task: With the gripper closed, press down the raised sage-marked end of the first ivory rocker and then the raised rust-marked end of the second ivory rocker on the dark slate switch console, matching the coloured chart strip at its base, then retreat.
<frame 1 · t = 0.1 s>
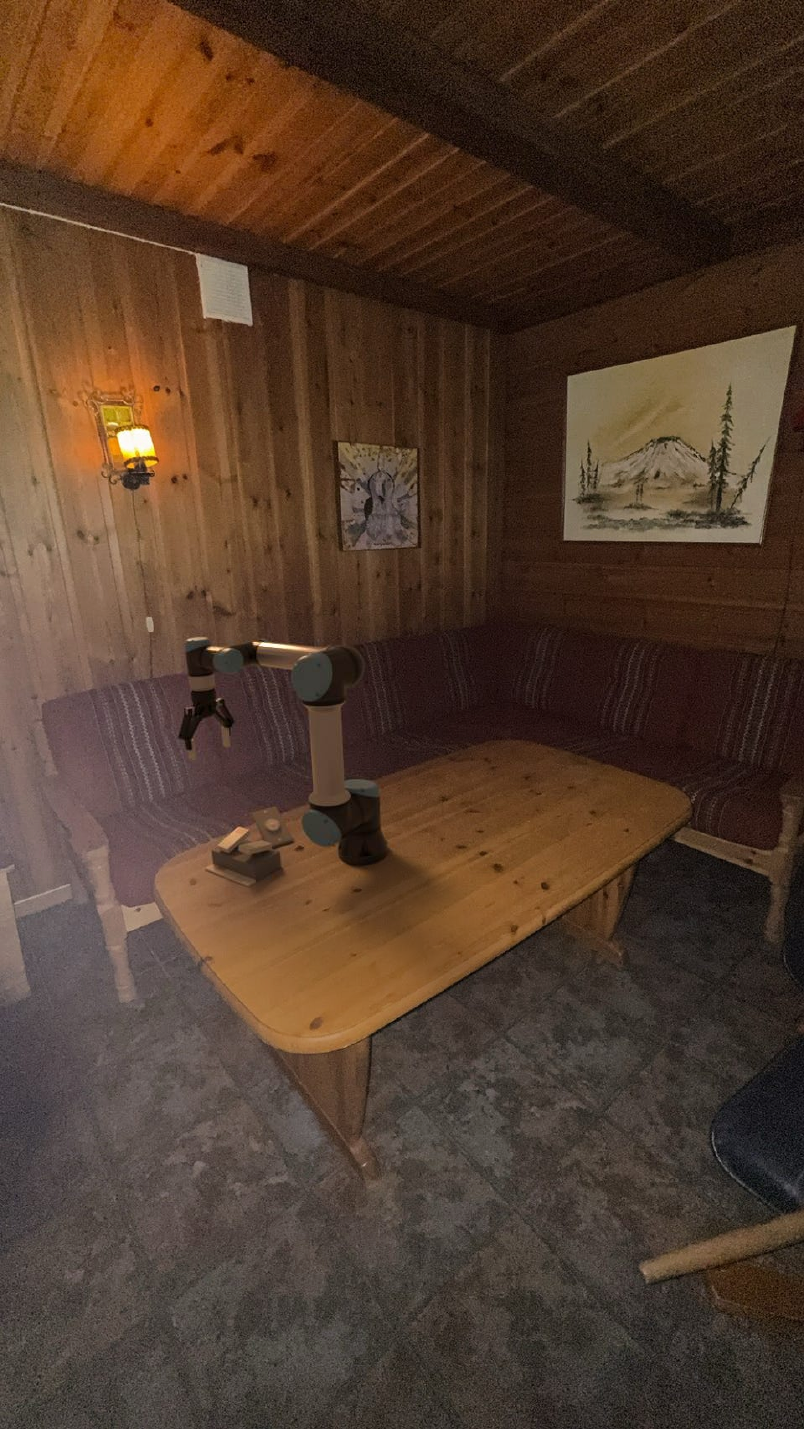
hand: (210, 752, 198), 28 cm above the table, fingers open, 13 cm apart
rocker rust: (233, 839, 185), point 7 cm above the table, hinge at -15.0°
console: (246, 865, 185), on the table
rocker sage: (255, 847, 180), point 7 cm above the table, hinge at 15.0°
light switch: (273, 838, 202), on the table
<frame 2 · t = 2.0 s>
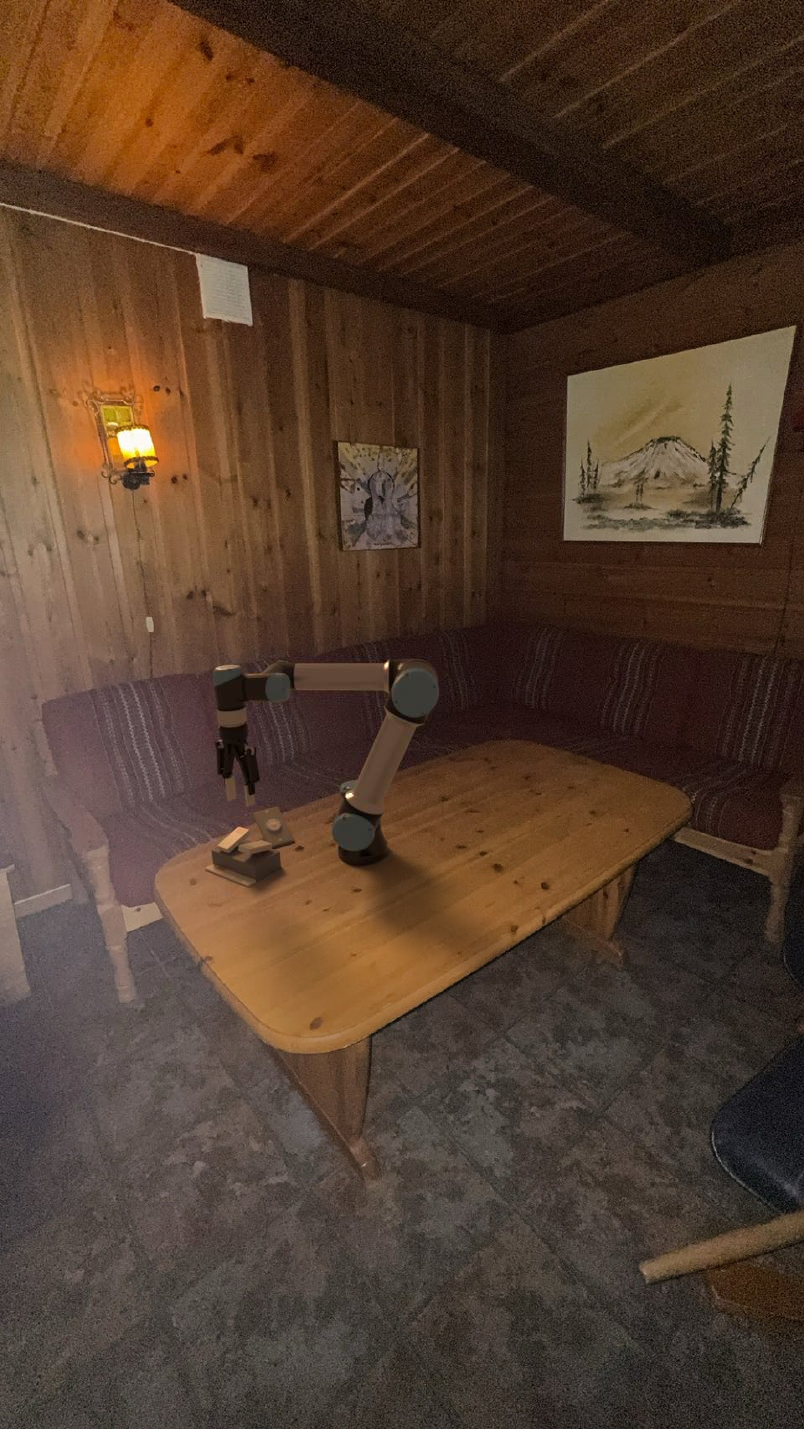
hand: (241, 801, 173), 23 cm above the table, fingers open, 7 cm apart
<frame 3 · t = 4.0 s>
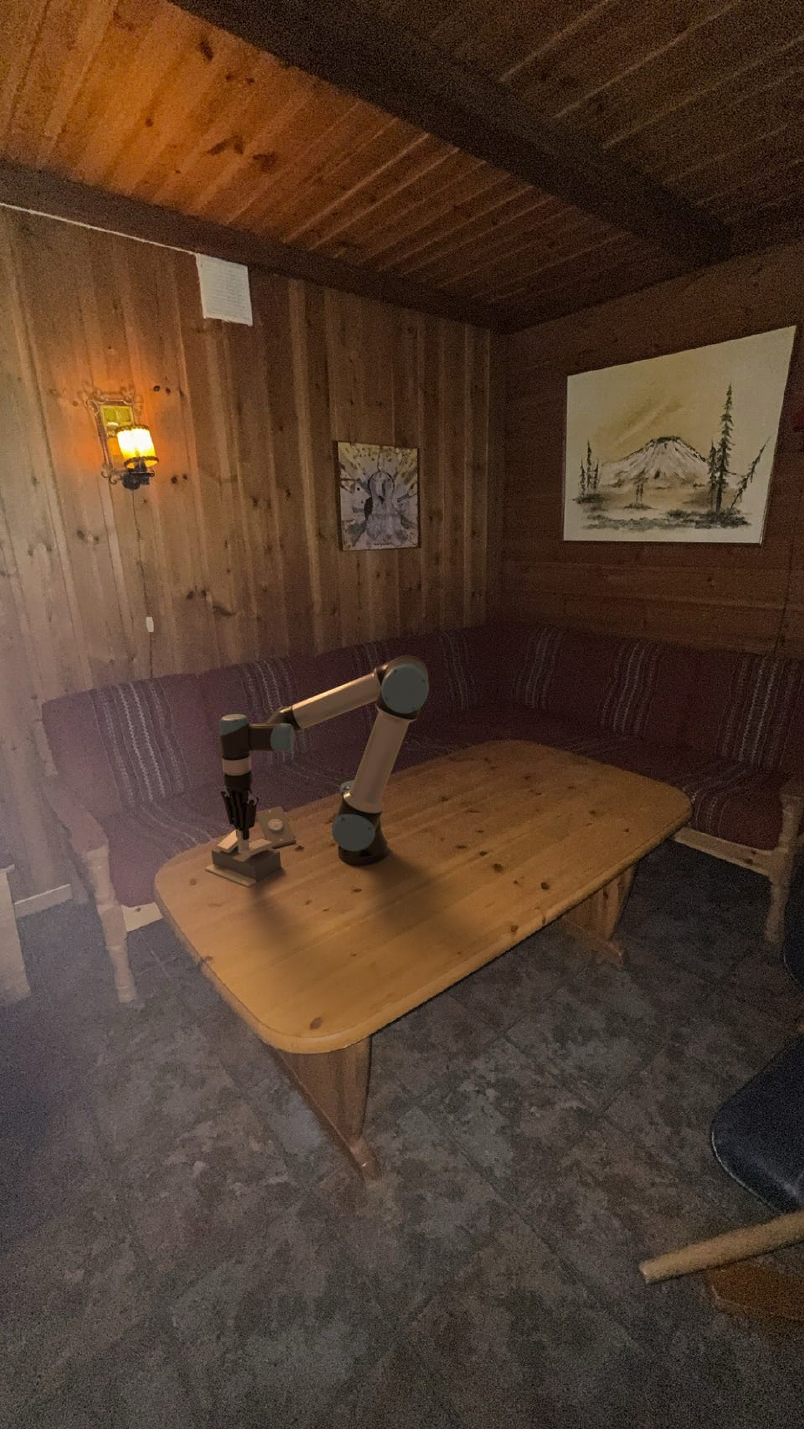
hand: (243, 848, 177), 9 cm above the table, fingers closed
rocker sage: (255, 847, 180), point 7 cm above the table, hinge at 8.3°, touching gripper
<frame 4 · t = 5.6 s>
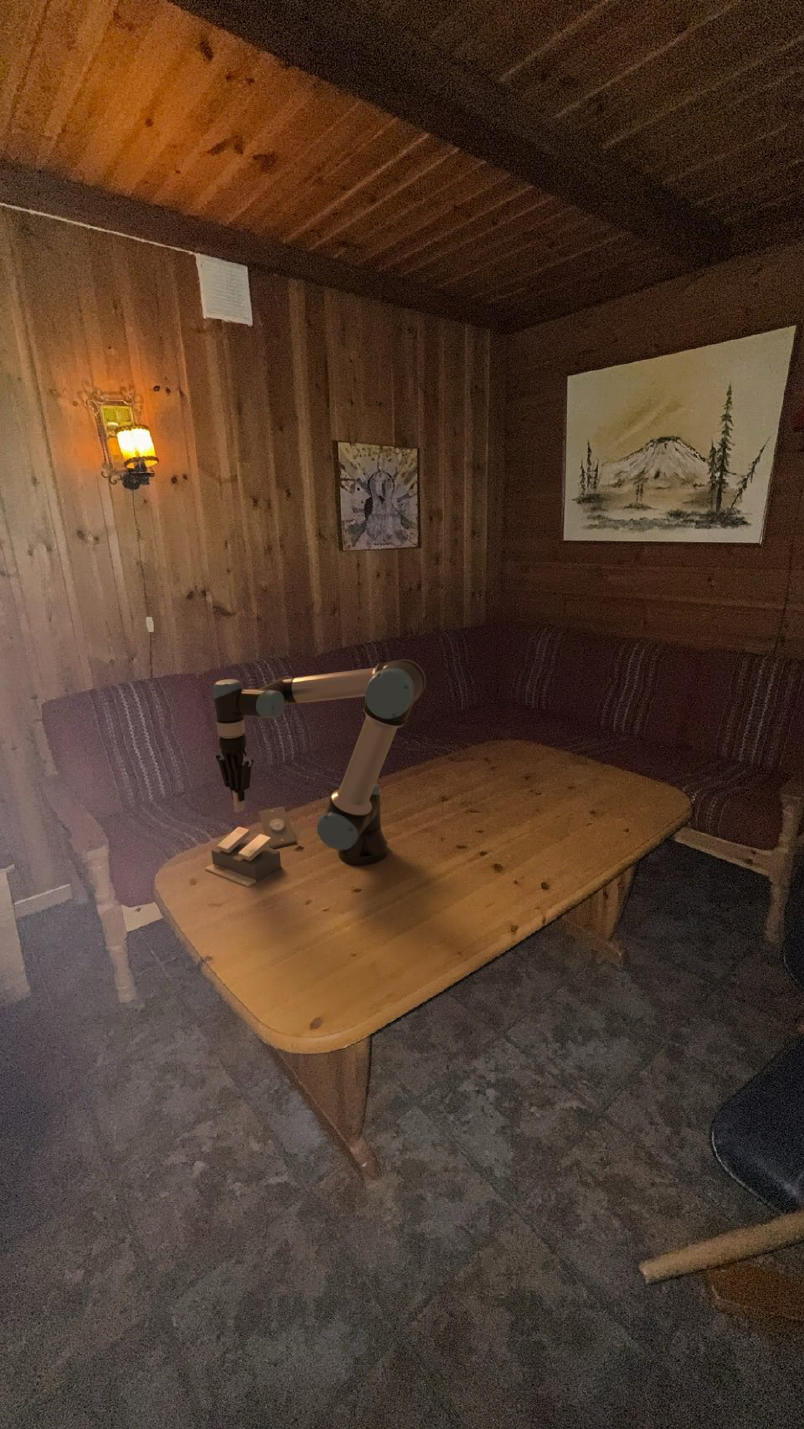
hand: (239, 810, 183), 17 cm above the table, fingers closed
rocker sage: (255, 847, 180), point 7 cm above the table, hinge at -13.4°
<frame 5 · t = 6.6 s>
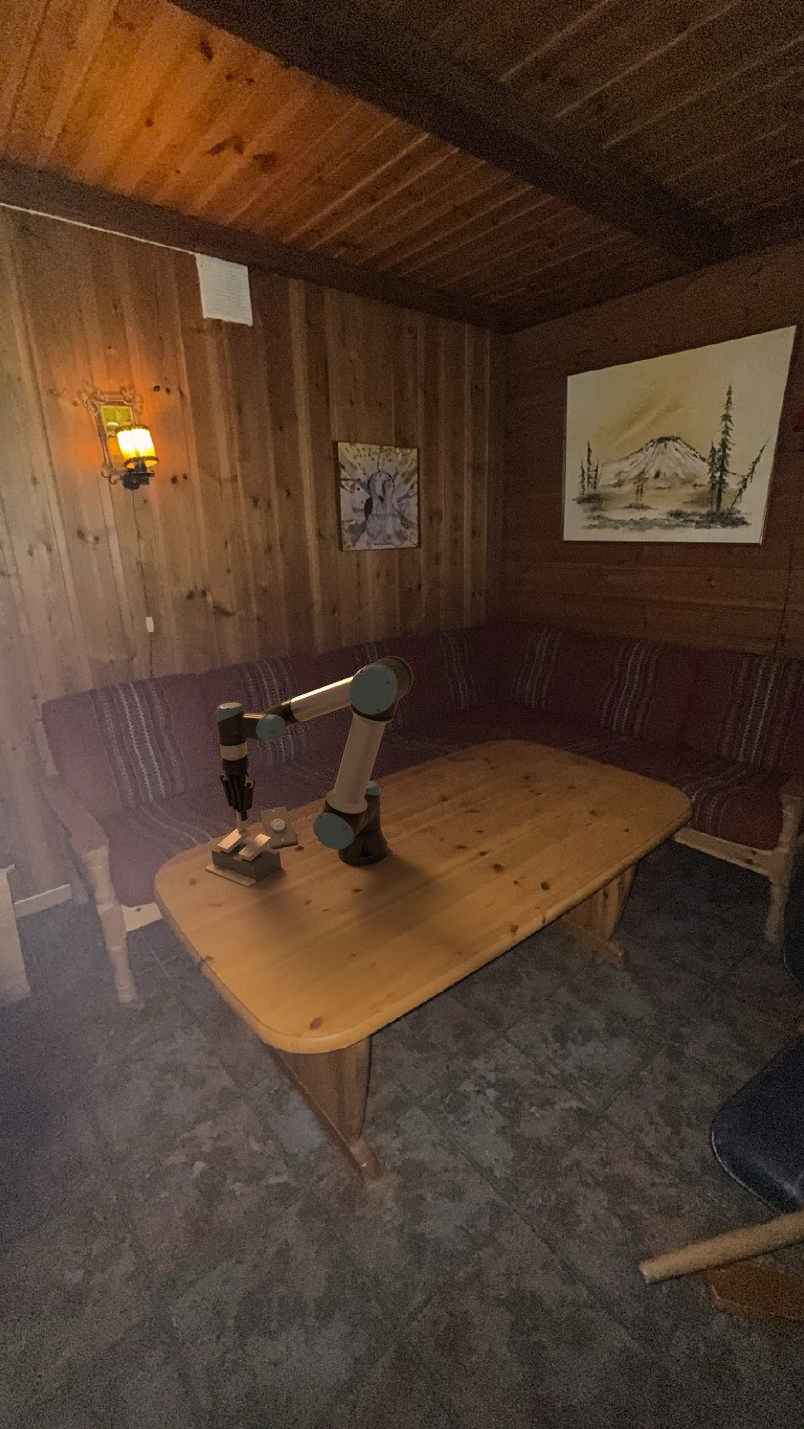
hand: (242, 829, 188), 9 cm above the table, fingers closed
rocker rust: (233, 839, 185), point 7 cm above the table, hinge at -13.9°, touching gripper
rocker sage: (255, 847, 180), point 7 cm above the table, hinge at -14.2°
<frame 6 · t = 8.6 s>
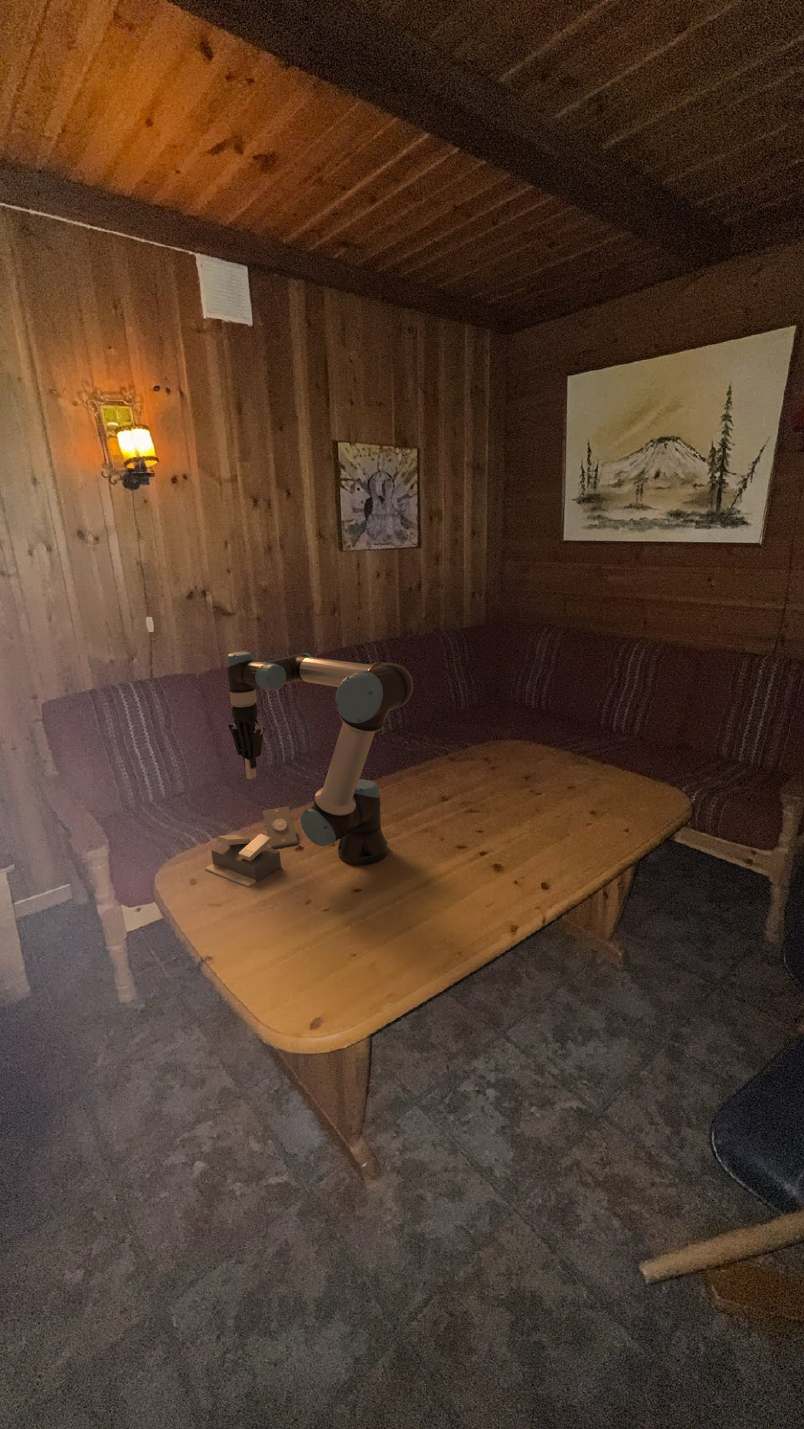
hand: (251, 777, 193), 22 cm above the table, fingers closed
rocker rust: (233, 839, 185), point 7 cm above the table, hinge at 21.2°
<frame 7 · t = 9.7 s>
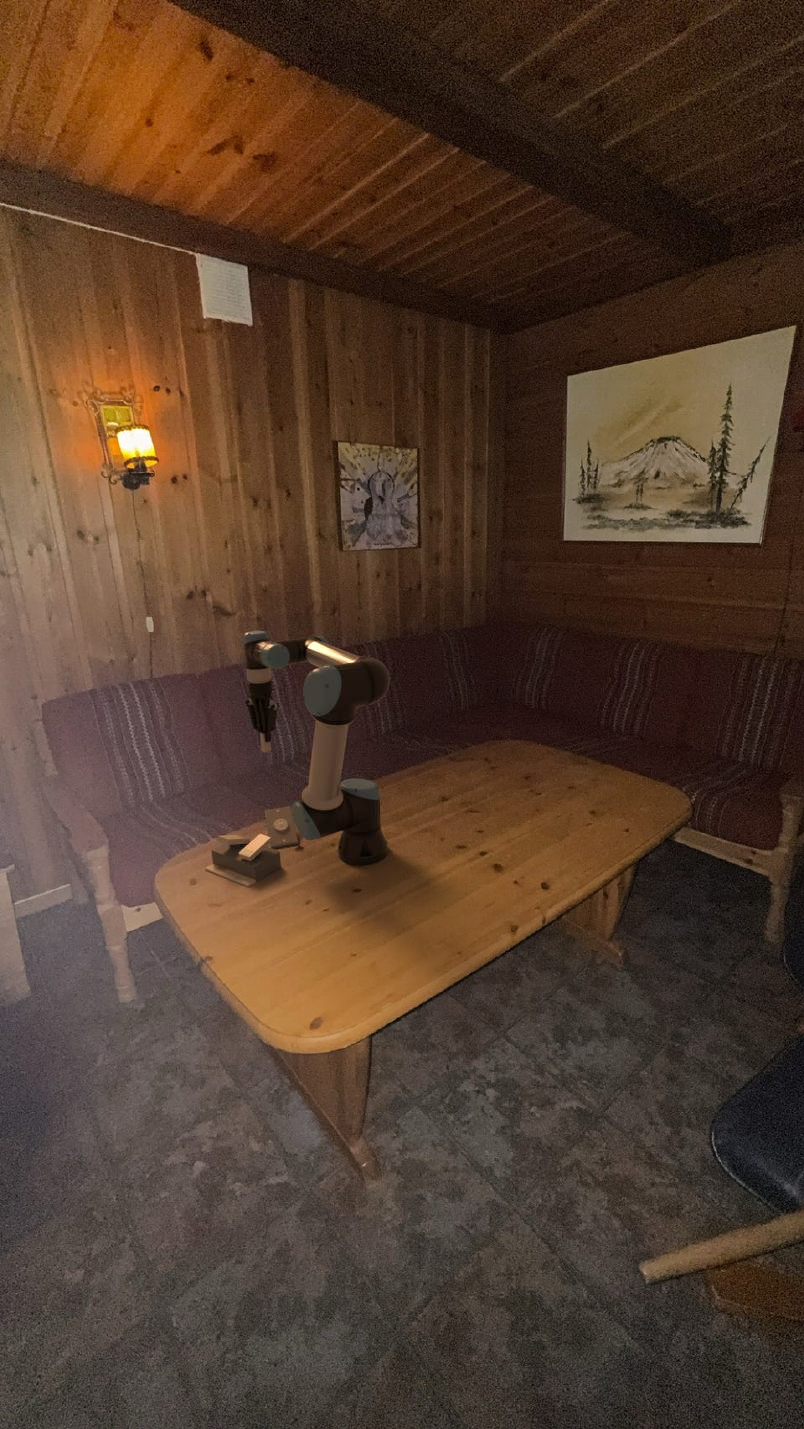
hand: (266, 750, 203), 26 cm above the table, fingers closed
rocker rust: (233, 839, 185), point 7 cm above the table, hinge at 21.9°, touching console
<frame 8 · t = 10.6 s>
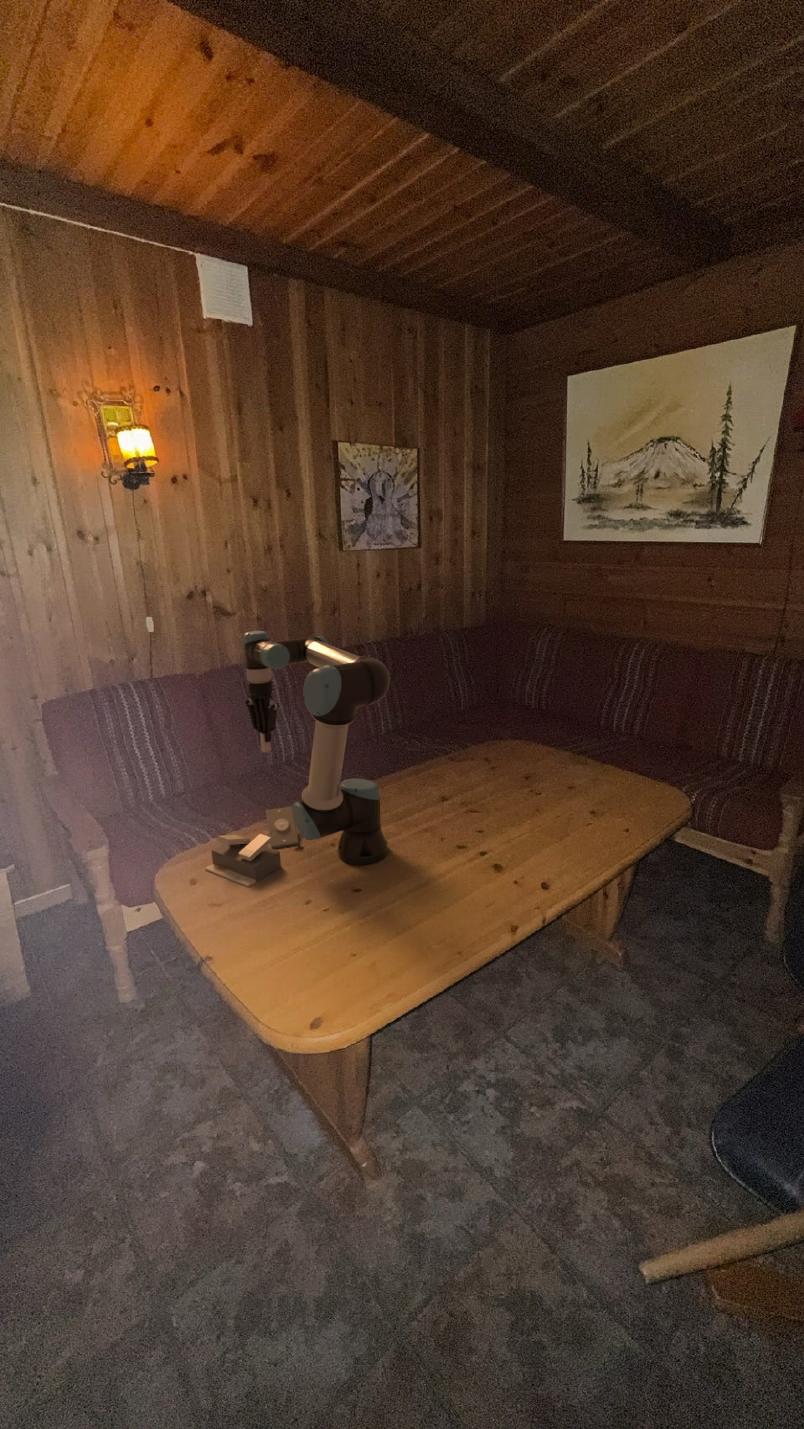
hand: (266, 750, 203), 26 cm above the table, fingers closed
at the end: rocker sage at -14° (first picture: +15°); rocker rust at +22° (first picture: -15°) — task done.
